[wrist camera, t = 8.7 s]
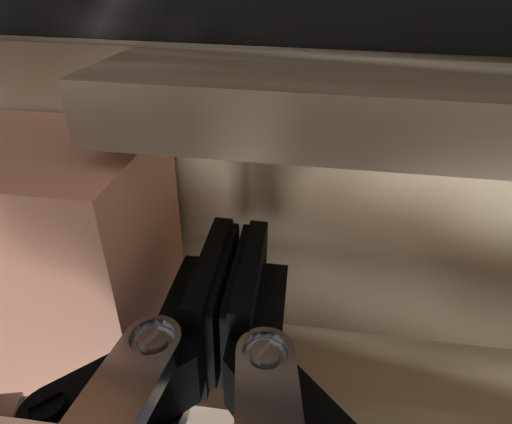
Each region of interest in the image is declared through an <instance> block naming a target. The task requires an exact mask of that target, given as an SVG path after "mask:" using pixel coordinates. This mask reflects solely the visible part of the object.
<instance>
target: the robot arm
mask: <svg viewBox="0 0 512 424" xmlns="http://www.w3.org/2000/svg"><path fill="white" fill-rule="evenodd" d="M267 240H268V222H266V221H255V220H251V221H250V224H249V225H248V224H244V225H243V228H242V231H241V235H240V239H239V224H237V223H233V219H232V218H220V217H215V218H214V221H213V223H212V226H211V228H210V231H209V233H208V236H207V238H206V241H205V243H204V246H203V248H202V251H201V253H200V256H189V255H187V256H185V258H184V259H183V261H182V263H181V266H180V268H179V270H178V272H177V275H176V277H175V279H174V281H173V283H172V286H171V288H170V290H169V292H168V295H167V297H166V299H165V301H164V303H163V306H162V308H161V310H160V312H159V314H158V315H150V316H146V317H143V318H140V319H138V320H137V321H135V322H134V323H132V324H131V325H130V326H129V327H128V328H127V329H126V331H125V332H124V333H123V335H122V336H121V338H120V339H119V340H118V342H117V343H116V344H115V346H114V347H113V349H112V350H111V351H110V353H108V354H106V355H104V356H102V357H100V358H98V359H96V360H95V361H93V362H91V363H89V364H87V365H85V366H83V367H81V368H79V369H77V370H75V371H73V372H71V373H69V374H67V375H65V376H63V377H61V378H59V379H57V380H55V381H53V382H51V383H49V384H47V385H45V386H43V387H41V388H39V389H38V390H36V391H35V392H33V393H31V394H30V395H29V396H24V394H23V392H16V393H5V394H0V424H186V422H187V420H188V417H189V413H190V408H192V407H193V406H195V405H196V404H198V403H199V402H201V400H206V401H207V400H208V396H209V392H210V389H217V387H218V383H219V379H220V374H221V382H222V390H224V405H225V407H226V408H227V409H228V411H229V412H230V413H231V415H232V416H233V417H234V424H357V423H356V422H355V421H354V420H353V419H352V418H351V417H350V416H349V415H348V414H347V413H346V412H345V411H344V410H343V409H342V408H341V407H340V406H339V405H338V404H337V403H336V402H335V401H334V400H333V399H332V398H331V397H330V396H329V395H328V394H327V393H326V392H325V391H324V390H323V389H322V388H321V387H320V386H319V385H318V384H317V383H316V382H315V381H314V380H313V379H312V378H311V377H310V376H309V375H308V374H307V373H306V372H305V371H304V370H303V369H302V368H301V367H300V366H299V365H298V364H297V360H296V352H295V348H294V344H293V342H292V340H291V339H290V338H289V336H288V335H286V334H285V333H284V332H283V320H284V309H285V298H286V286H287V274H288V265H282V264H272V263H266V262H267Z"/></svg>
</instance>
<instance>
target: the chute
mask: <svg viewBox="0 0 512 424" xmlns="http://www.w3.org/2000/svg"><path fill="white" fill-rule="evenodd" d="M0 109H3V110H19V111H35V112H50V113H65V118H66V122H67V126H68V130H69V135H70V139H71V143H72V147H73V149H75V150H89V151H103V152H116V153H130V154H144V155H158V156H171V157H174V162H175V172H176V183H177V193H178V204H179V214H180V225H181V235H182V246H183V256H184V258H185V256H187V255H189V256H200V253H201V251H202V248H203V246H204V243H205V241H206V238H207V236H208V233H209V231H210V228H211V226H212V223H213V221H214V218H215V217H220V218H232V219H233V223H237V224H239V239H240V235H241V231H242V228H243V225H244V224H248V225H249V224H250V221H251V220H255V221H266V222H268V240H267V262H266V263H272V264H282V265H288V274H287V286H286V298H285V309H284V320H283V332H284V333H285V334H286V335H288V336H289V338H290V339H291V340H292V342H293V344H294V348H295V352H296V360H297V364H298V365H299V366H300V367H301V368H302V369H303V370H304V371H305V372H306V373H307V374H308V375H309V376H310V377H311V378H312V379H313V380H314V381H315V382H316V383H317V384H318V385H319V386H320V387H321V388H322V389H323V390H324V391H325V392H326V393H327V394H328V395H329V396H330V397H331V398H332V399H333V400H334V401H335V402H336V403H337V404H338V405H339V406H340V407H341V408H342V409H343V410H344V411H345V412H346V413H347V414H348V415H349V416H350V417H351V418H352V419H353V420H354V421H355V422H356V423H357V424H512V57H496V56H473V55H450V54H428V53H405V52H382V51H359V50H336V49H313V48H290V47H267V46H244V45H221V44H198V43H175V42H152V41H129V40H106V39H83V38H61V37H38V36H15V35H0ZM186 424H234V417H233V416H232V415H231V413H230V412H229V411H228V409H227V408H226V407H225V405H224V390H222V382H221V374H220V379H219V383H218V387H217V389H210V392H209V396H208V400H207V401H206V400H201V402H199V403H198V404H196V405H195V406H193V407H192V408H190V413H189V417H188V420H187V422H186Z"/></svg>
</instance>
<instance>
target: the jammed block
mask: <svg viewBox="0 0 512 424" xmlns="http://www.w3.org/2000/svg"><path fill="white" fill-rule="evenodd" d="M183 259H184V256H183V246H182V235H181V225H180V214H179V204H178V193H177V183H176V172H175V162H174V157H171V156H158V155H144V154H130V153H116V152H103V151H89V150H75V149H73V147H72V143H71V139H70V135H69V130H68V126H67V122H66V118H65V113H50V112H35V111H19V110H3V109H0V394H5V393H16V392H23V394H24V396H29V395H30V394H31V393H33V392H35V391H36V390H38V389H39V388H41V387H43V386H45V385H47V384H49V383H51V382H53V381H55V380H57V379H59V378H61V377H63V376H65V375H67V374H69V373H71V372H73V371H75V370H77V369H79V368H81V367H83V366H85V365H87V364H89V363H91V362H93V361H95V360H96V359H98V358H100V357H102V356H104V355H106V354H108V353H110V351H111V350H112V349H113V347H114V346H115V344H116V343H117V342H118V340H119V339H120V338H121V336H122V335H123V333H124V332H125V331H126V329H127V328H128V327H129V326H130V325H131V324H132V323H134V322H135V321H137V320H138V319H140V318H143V317H146V316H150V315H158V314H159V312H160V310H161V308H162V306H163V303H164V301H165V299H166V297H167V295H168V292H169V290H170V288H171V286H172V283H173V281H174V279H175V277H176V275H177V272H178V270H179V268H180V266H181V263H182V261H183Z"/></svg>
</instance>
